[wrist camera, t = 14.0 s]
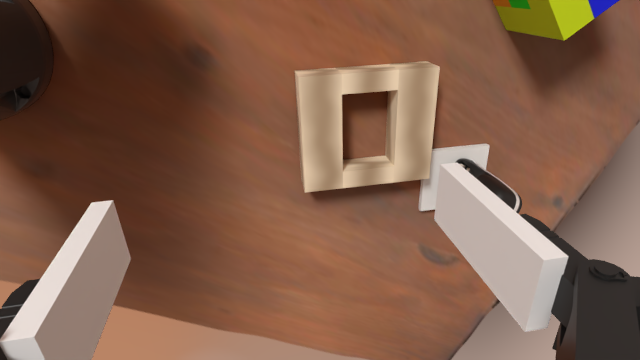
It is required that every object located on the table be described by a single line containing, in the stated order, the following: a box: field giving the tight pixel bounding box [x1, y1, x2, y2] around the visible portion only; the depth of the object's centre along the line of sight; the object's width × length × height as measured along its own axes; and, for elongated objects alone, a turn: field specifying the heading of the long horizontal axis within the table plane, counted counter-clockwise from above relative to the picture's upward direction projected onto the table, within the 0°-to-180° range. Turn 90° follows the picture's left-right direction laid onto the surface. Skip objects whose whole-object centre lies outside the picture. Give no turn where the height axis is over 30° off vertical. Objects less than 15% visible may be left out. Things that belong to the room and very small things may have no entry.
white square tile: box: [419, 144, 490, 211], centre depth 56 cm, size 9×9×1 cm
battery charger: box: [455, 158, 522, 213], centre depth 50 cm, size 7×4×11 cm, turn 156°
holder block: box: [295, 61, 440, 192], centre depth 49 cm, size 16×14×4 cm
